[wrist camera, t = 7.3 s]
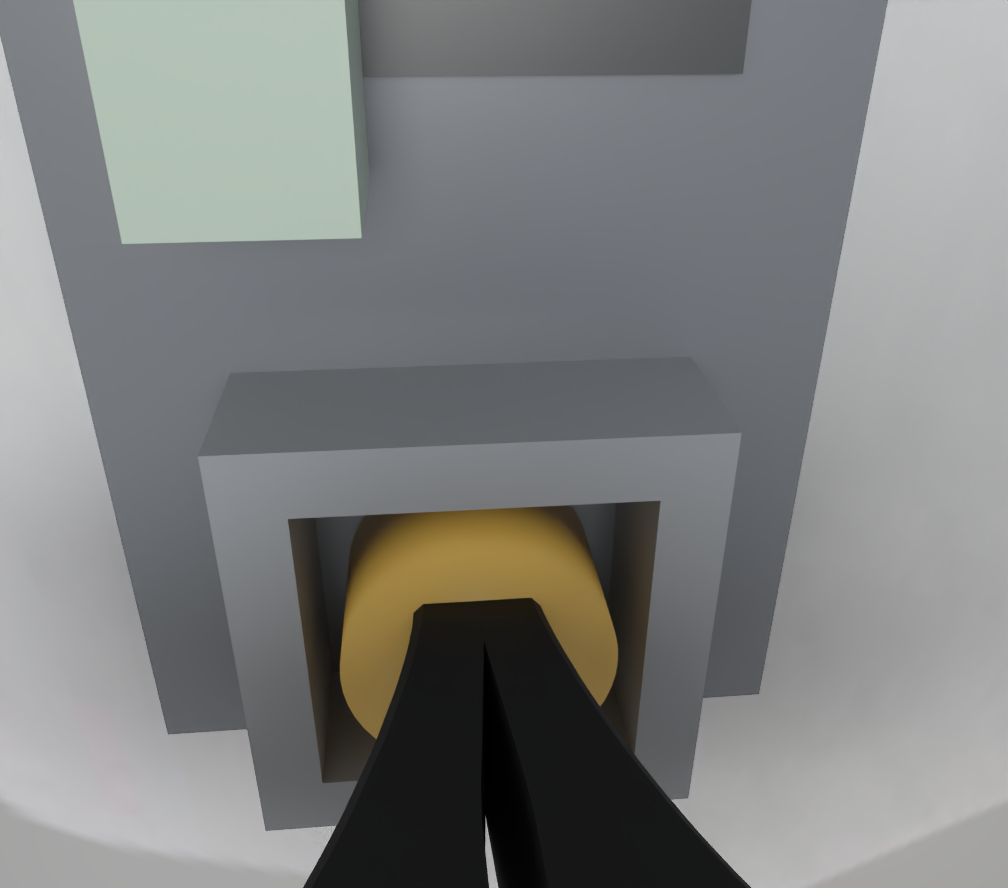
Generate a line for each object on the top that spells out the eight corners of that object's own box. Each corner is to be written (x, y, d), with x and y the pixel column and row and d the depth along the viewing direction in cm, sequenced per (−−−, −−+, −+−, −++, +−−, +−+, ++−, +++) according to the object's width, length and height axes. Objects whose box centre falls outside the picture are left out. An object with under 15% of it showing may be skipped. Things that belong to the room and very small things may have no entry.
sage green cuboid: (124, -133, 8) (43, -151, 6) (349, -130, 8) (332, -149, 7) (178, 181, 10) (121, 244, 8) (370, 177, 10) (360, 238, 8)
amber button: (339, 468, 11) (327, 563, 10) (593, 456, 12) (627, 548, 10) (357, 663, 13) (350, 777, 11) (582, 650, 13) (609, 758, 12)
